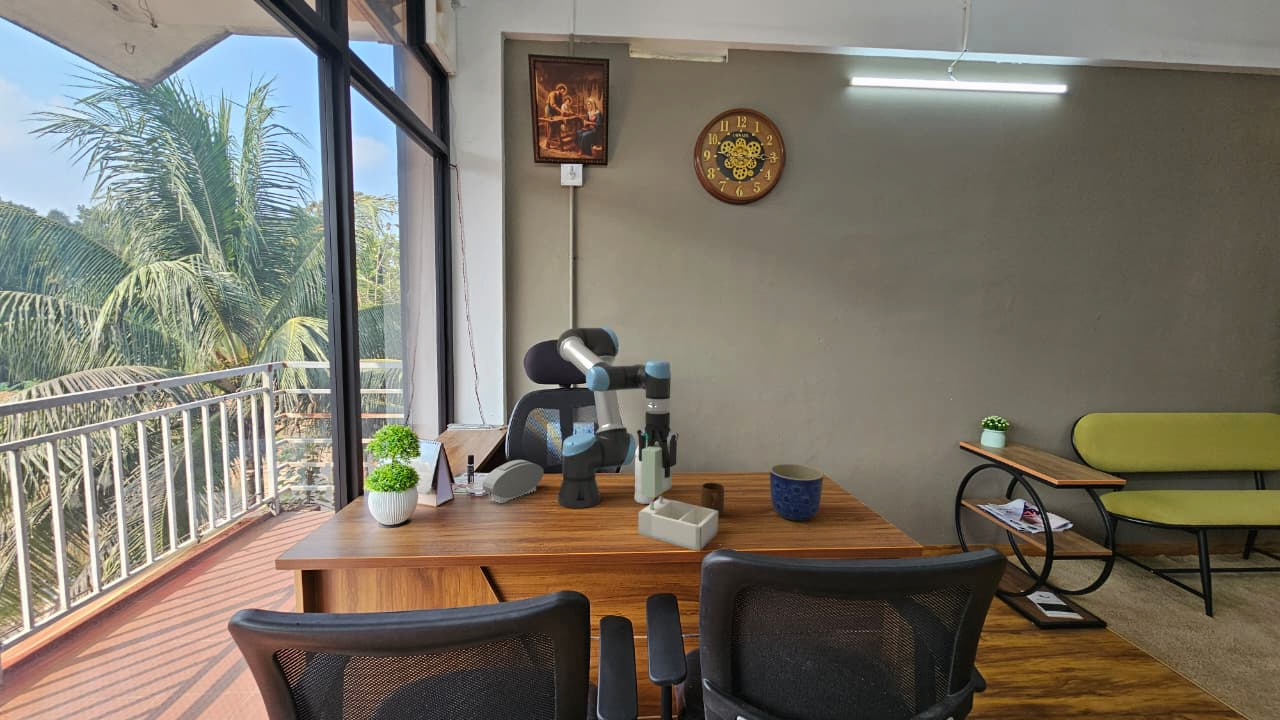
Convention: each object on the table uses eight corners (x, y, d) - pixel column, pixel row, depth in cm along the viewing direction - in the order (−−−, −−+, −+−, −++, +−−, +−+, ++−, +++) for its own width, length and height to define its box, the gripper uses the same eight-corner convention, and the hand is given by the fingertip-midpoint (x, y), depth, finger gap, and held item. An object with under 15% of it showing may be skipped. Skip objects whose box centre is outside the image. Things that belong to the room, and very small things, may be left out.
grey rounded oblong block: (532, 485, 185) (532, 453, 184) (543, 488, 181) (543, 456, 180) (482, 503, 166) (481, 467, 165) (493, 507, 162) (492, 471, 161)
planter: (759, 515, 158) (760, 471, 156) (782, 501, 170) (783, 460, 169) (808, 531, 146) (810, 483, 145) (829, 515, 159) (831, 471, 157)
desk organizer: (638, 534, 143) (638, 505, 142) (660, 518, 155) (660, 491, 154) (699, 551, 133) (700, 520, 132) (717, 532, 145) (718, 504, 144)
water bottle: (656, 498, 172) (657, 431, 170) (650, 505, 165) (651, 435, 163) (638, 496, 174) (639, 429, 172) (631, 503, 167) (632, 433, 165)
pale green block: (641, 495, 143) (641, 449, 142) (659, 484, 152) (659, 441, 151) (654, 497, 140) (654, 451, 139) (671, 487, 150) (671, 443, 149)
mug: (727, 523, 151) (728, 495, 150) (704, 523, 151) (704, 495, 150) (721, 509, 163) (722, 482, 162) (699, 508, 163) (700, 482, 162)
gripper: (626, 410, 146) (626, 484, 148) (678, 416, 137) (677, 495, 139) (639, 407, 152) (638, 477, 154) (689, 412, 143) (688, 487, 145)
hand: (657, 485), depth 146 cm, fingers closed on pale green block, 4 cm apart
